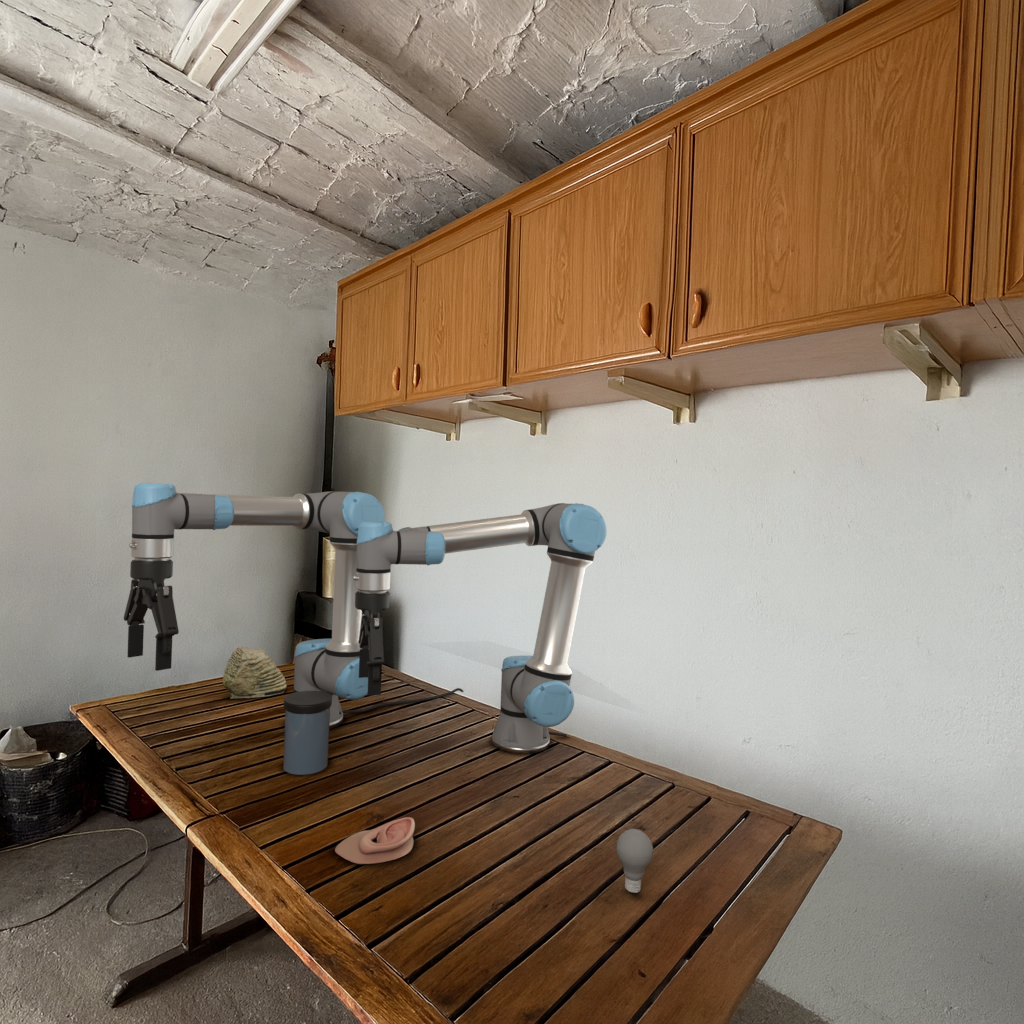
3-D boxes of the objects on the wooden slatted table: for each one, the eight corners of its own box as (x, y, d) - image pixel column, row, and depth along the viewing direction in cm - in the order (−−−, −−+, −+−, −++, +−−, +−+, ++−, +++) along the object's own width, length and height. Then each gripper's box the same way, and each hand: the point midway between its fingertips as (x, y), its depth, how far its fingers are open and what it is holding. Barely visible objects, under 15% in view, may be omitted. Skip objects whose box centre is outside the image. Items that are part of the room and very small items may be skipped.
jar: (320, 775, 144) (322, 707, 143) (276, 773, 144) (278, 705, 143) (333, 758, 154) (335, 693, 153) (292, 756, 154) (294, 691, 153)
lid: (323, 714, 143) (323, 705, 143) (276, 712, 143) (276, 703, 143) (337, 699, 154) (337, 691, 154) (293, 697, 154) (293, 689, 154)
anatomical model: (327, 836, 111) (356, 806, 122) (326, 858, 111) (355, 826, 122) (398, 848, 108) (421, 815, 119) (397, 871, 108) (420, 836, 119)
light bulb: (610, 879, 108) (613, 822, 108) (644, 879, 109) (647, 822, 109) (619, 902, 102) (622, 840, 102) (655, 901, 103) (658, 840, 103)
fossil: (218, 695, 195) (220, 647, 195) (278, 685, 208) (279, 640, 207) (228, 703, 189) (230, 653, 188) (289, 692, 201) (290, 645, 201)
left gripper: (108, 554, 134) (104, 654, 134) (159, 565, 118) (155, 678, 119) (146, 552, 140) (143, 648, 140) (199, 563, 124) (195, 671, 124)
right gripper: (348, 583, 151) (345, 671, 152) (363, 600, 128) (359, 704, 128) (380, 582, 154) (377, 669, 154) (400, 599, 131) (396, 701, 131)
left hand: (148, 662), depth 129 cm, fingers open, 13 cm apart
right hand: (369, 685), depth 141 cm, fingers open, 13 cm apart
